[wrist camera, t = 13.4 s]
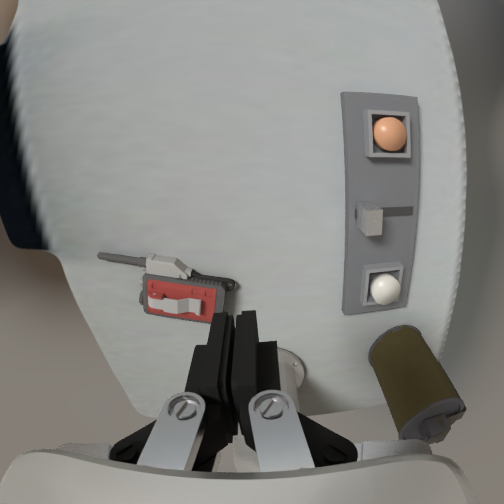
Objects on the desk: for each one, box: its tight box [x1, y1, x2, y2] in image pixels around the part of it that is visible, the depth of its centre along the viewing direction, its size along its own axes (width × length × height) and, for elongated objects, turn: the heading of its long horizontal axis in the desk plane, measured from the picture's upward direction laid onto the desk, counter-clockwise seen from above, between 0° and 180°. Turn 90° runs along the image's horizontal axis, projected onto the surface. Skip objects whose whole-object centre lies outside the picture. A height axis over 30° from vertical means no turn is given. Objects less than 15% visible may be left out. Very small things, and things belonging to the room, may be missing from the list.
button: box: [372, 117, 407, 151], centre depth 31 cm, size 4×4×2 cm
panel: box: [340, 92, 420, 315], centre depth 36 cm, size 30×10×3 cm, turn 5°
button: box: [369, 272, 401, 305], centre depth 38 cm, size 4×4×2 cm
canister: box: [369, 325, 466, 445], centre depth 38 cm, size 11×10×20 cm
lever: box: [357, 202, 383, 236], centre depth 34 cm, size 2×3×4 cm, turn 5°
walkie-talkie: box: [97, 252, 235, 324], centre depth 40 cm, size 9×4×20 cm
